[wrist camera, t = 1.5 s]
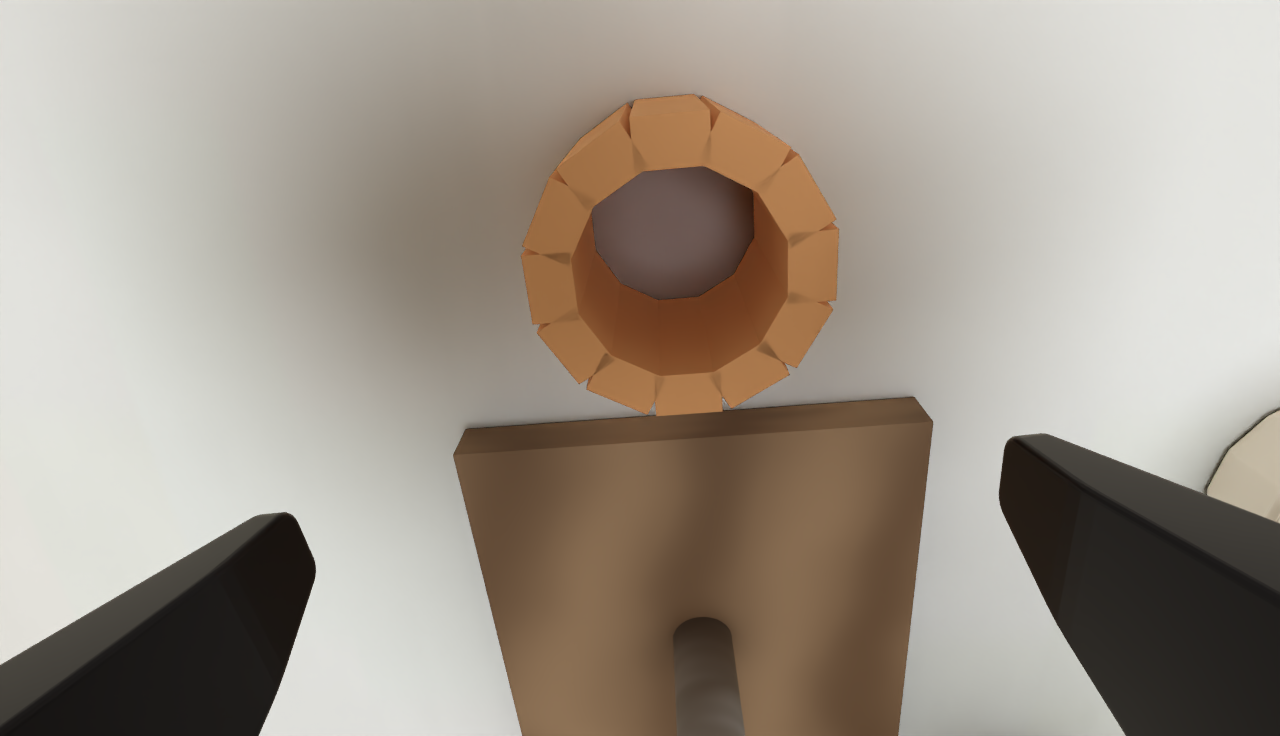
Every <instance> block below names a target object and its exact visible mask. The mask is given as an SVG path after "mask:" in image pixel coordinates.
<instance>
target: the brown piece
mask: <svg viewBox="0 0 1280 736" xmlns="http://www.w3.org/2000/svg"><path fill="white" fill-rule="evenodd" d="M932 428H933V421H932V419H931V418H930V417H929V416H928V414H927V413H926V412H925V410H924V409H923V408H922V406H921V405H920V404H919V402H918V401H917V400H916V399H915V397H911V398H897V399H883V400H869V401H855V402H841V403H827V404H813V405H799V406H785V407H771V408H757V409H743V410H729V411H723V412H709V413H695V414H681V415H667V416H645V417H631V418H617V419H603V420H589V421H575V422H561V423H547V424H533V425H519V426H505V427H491V428H477V429H466V430H465V432H464V434H463V436H462V438H461V440H460V442H459V444H458V446H457V448H456V450H455V452H454V454H453V457H454V461H455V465H456V469H457V473H458V477H459V481H460V485H461V489H462V493H463V497H464V501H465V505H466V510H467V514H468V518H469V522H470V526H471V530H472V534H473V538H474V542H475V546H476V550H477V554H478V558H479V562H480V566H481V570H482V574H483V578H484V582H485V586H486V591H487V595H488V599H489V603H490V607H491V611H492V615H493V619H494V623H495V627H496V631H497V635H498V639H499V643H500V647H501V651H502V655H503V659H504V663H505V667H506V672H507V676H508V680H509V684H510V688H511V692H512V696H513V700H514V704H515V708H516V712H517V716H518V720H519V724H520V728H521V732H522V736H898V732H899V723H900V714H901V705H902V696H903V687H904V678H905V669H906V660H907V651H908V642H909V634H910V625H911V616H912V607H913V598H914V589H915V580H916V571H917V562H918V553H919V544H920V535H921V527H922V518H923V509H924V500H925V491H926V482H927V473H928V464H929V455H930V446H931V437H932Z"/></svg>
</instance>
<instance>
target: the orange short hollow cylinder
mask: <svg viewBox="0 0 1280 736" xmlns="http://www.w3.org/2000/svg"><path fill="white" fill-rule="evenodd" d="M697 166H705V167H707V168H709V169H711V170H713V171H715V172H717V173H719V174H721V175H723V176H725V177H727V178H730V179H732V180H734V181H736V182H738V183H740V184H742V185H744V186H746V187H748V188H750V189H751V190H752V192H753V197H754V238H753V240H752V242H751V244H750V245H749V247H748V249H747V251H746V253H745V255H744V256H743V258H742V260H741V262H740V264H739V266H738V267H737V269H736V271H735V273H734V274H733V275H732V276H730V277H729V278H727V279H725V280H724V281H722V282H721V283H719V284H718V285H716V286H715V287H713V288H712V289H710V290H708V291H707V292H705V293H704V294H702V295H701V296H699V297H689V298H677V299H665V300H657V299H654V298H652V297H650V296H648V295H645V294H643V293H641V292H639V291H636V290H634V289H632V288H630V287H628V286H625V285H623V284H621V283H620V282H619V281H618V279H617V278H616V277H615V275H614V274H613V273H612V271H611V270H610V269H609V267H608V266H607V265H606V263H605V262H604V261H603V259H602V258H601V256H600V255H599V254H598V252H597V251H596V248H595V240H594V231H593V223H592V215H591V211H592V209H593V207H594V206H595V205H597V204H598V203H600V202H601V201H602V200H604V199H605V198H606V197H608V196H609V195H611V194H612V193H613V192H615V191H616V190H618V189H619V188H620V187H622V186H623V185H624V184H626V183H627V182H629V181H630V180H631V179H633V178H634V177H636V176H637V175H638V174H640V173H641V172H642V171H653V170H664V169H675V168H686V167H697ZM835 220H836V218H835V216H834V214H833V212H832V211H831V209H830V207H829V206H828V204H827V202H826V200H825V199H824V197H823V195H822V193H821V192H820V190H819V188H818V187H817V185H816V183H815V181H814V180H813V178H812V176H811V175H810V173H809V171H808V169H807V168H806V166H805V164H804V162H803V161H802V159H801V157H800V156H799V154H797V153H796V152H794V151H793V150H792V149H791V147H790V146H789V145H787V144H786V143H784V142H783V141H781V140H780V139H778V138H777V137H775V136H774V135H772V134H771V133H769V132H768V131H766V130H765V129H764V128H762V127H761V126H759V125H758V124H756V123H755V122H753V121H751V120H749V119H747V118H745V117H743V116H741V115H739V114H737V113H735V112H733V111H731V110H729V109H727V108H725V107H723V106H721V105H720V104H718V103H716V102H714V101H712V100H710V99H708V98H706V97H704V96H702V97H701V99H699V98H698V97H697V96H695V95H694V94H689V95H679V96H668V97H658V98H648V99H637V100H635V101H634V104H633V107H632V109H631V108H630V106H629V105H628V103H626V104H625V105H624V106H622V107H621V108H620V109H618V110H617V111H616V112H614V113H613V114H612V115H610V116H609V117H608V118H607V119H605V120H604V121H603V122H601V123H600V124H599V125H597V126H596V127H595V128H593V129H592V130H591V131H589V132H588V133H587V134H585V135H584V136H583V137H582V138H580V139H579V141H578V142H577V143H576V144H575V146H574V147H573V148H572V149H571V151H570V152H569V153H568V154H567V155H566V157H565V158H564V159H563V160H562V162H561V163H560V164H559V165H558V167H557V168H556V170H555V171H554V172H553V173H552V174H551V176H550V177H549V179H548V182H547V184H546V187H545V189H544V192H543V194H542V197H541V199H540V202H539V204H538V207H537V210H536V212H535V215H534V217H533V220H532V222H531V225H530V227H529V230H528V232H527V235H526V237H525V240H524V243H523V245H522V246H523V247H525V248H526V249H525V251H524V252H523V254H522V255H521V259H522V264H523V270H524V276H525V282H526V288H527V294H528V300H529V306H530V311H531V317H532V323H533V324H540V326H539V328H538V331H537V334H538V335H539V336H540V338H541V339H542V340H543V341H544V342H545V344H546V345H547V346H548V347H549V348H550V350H551V351H552V352H553V353H554V354H555V356H556V357H557V358H558V359H559V361H560V362H561V363H562V364H563V365H564V367H565V368H566V369H567V370H568V371H569V373H570V374H571V375H572V376H573V377H574V379H575V380H576V381H577V382H578V384H580V383H582V382H583V381H585V380H587V379H588V378H589V379H588V384H587V390H589V391H591V392H593V393H596V394H598V395H601V396H603V397H605V398H608V399H610V400H613V401H615V402H618V403H620V404H622V405H625V406H627V407H630V408H632V409H635V410H637V411H639V412H642V413H644V414H647V415H648V413H649V411H650V409H651V407H652V405H653V403H654V402H655V406H656V416H667V415H681V414H695V413H709V412H723V408H722V397H723V398H724V399H725V401H726V402H727V403H728V405H729V406H730V407H731V409H732V408H734V407H735V406H737V405H739V404H741V403H742V402H744V401H746V400H747V399H749V398H751V397H752V396H754V395H756V394H758V393H759V392H761V391H763V390H764V389H766V388H768V387H770V386H771V385H773V384H775V383H776V382H778V381H780V380H781V379H783V378H785V377H787V376H788V375H790V374H789V372H788V369H787V367H786V365H785V363H786V364H788V365H791V366H793V367H795V368H797V367H798V365H799V363H800V362H801V360H802V359H803V357H804V355H805V354H806V352H807V351H808V349H809V348H810V346H811V344H812V343H813V341H814V340H815V338H816V336H817V335H818V333H819V332H820V330H821V328H822V327H823V325H824V324H825V322H826V320H827V319H828V317H829V316H830V314H831V312H832V311H833V309H832V307H831V306H830V304H829V303H828V301H835V300H836V293H837V266H838V239H839V229H838V228H837V227H836V226H835V225H834V224H833V223H832V222H833V221H835Z"/></svg>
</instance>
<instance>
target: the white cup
mask: <svg viewBox="0 0 1280 736" xmlns="http://www.w3.org/2000/svg"><path fill="white" fill-rule="evenodd" d="M1207 495H1208V496H1210V497H1213V498H1216V499H1218V500H1221V501H1223V502H1226V503H1229V504H1231V505H1234V506H1236V507H1239V508H1242V509H1244V510H1247V511H1249V512H1252V513H1255V514H1257V515H1260V516H1262V517H1265V518H1268V519H1270V520H1273V521H1275V522H1278V523H1280V410H1279V411H1277V412H1275V413H1273V414H1271V415H1269V416H1268V417H1266V418H1265V419H1264V420H1263V421H1262V422H1260V423H1259V424H1258V425H1257V426H1256V427H1255V428H1253V429H1252V430H1251V431H1250V432H1249V433H1248V434H1246V435H1245V436H1244V437H1243V438H1242V439H1241V440H1240V441H1238V442H1237V443H1236V444H1235V445H1234V446H1233V447H1231V448H1230V449H1229V450H1228V452H1227V453H1226V455H1225V457H1224V459H1223V461H1222V462H1221V464H1220V466H1219V468H1218V470H1217V472H1216V473H1215V475H1214V477H1213V479H1212V481H1211V483H1210V485H1209V486H1208V488H1207Z"/></svg>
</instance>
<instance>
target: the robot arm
mask: <svg viewBox="0 0 1280 736" xmlns="http://www.w3.org/2000/svg"><path fill="white" fill-rule="evenodd" d="M999 501H1000V506H1001V509H1002V512H1003V514H1004V516H1005V518H1006V521H1007V523H1008V525H1009V527H1010V529H1011V531H1012V533H1013V535H1014V537H1015V539H1016V541H1017V543H1018V546H1019V548H1020V550H1021V552H1022V554H1023V556H1024V558H1025V560H1026V562H1027V564H1028V566H1029V568H1030V571H1031V573H1032V575H1033V577H1034V579H1035V581H1036V583H1037V585H1038V587H1039V589H1040V591H1041V593H1042V595H1043V598H1044V600H1045V602H1046V604H1047V606H1048V608H1049V610H1050V612H1051V613H1052V615H1053V617H1054V619H1055V621H1056V623H1057V625H1058V627H1059V628H1060V630H1061V632H1062V633H1063V635H1064V637H1065V638H1066V640H1067V642H1068V643H1069V645H1070V647H1071V648H1072V650H1073V651H1074V653H1075V655H1076V656H1077V658H1078V659H1079V661H1080V663H1081V664H1082V666H1083V667H1084V669H1085V671H1086V672H1087V674H1088V676H1089V677H1090V679H1091V680H1092V682H1093V684H1094V685H1095V687H1096V688H1097V690H1098V692H1099V693H1100V695H1101V696H1102V698H1103V700H1104V701H1105V703H1106V704H1107V706H1108V708H1109V709H1110V711H1111V712H1112V714H1113V716H1114V717H1115V719H1116V720H1117V722H1118V724H1119V725H1120V727H1121V728H1122V730H1123V732H1124V733H1125V735H1126V736H1280V523H1278V522H1275V521H1273V520H1270V519H1268V518H1265V517H1262V516H1260V515H1257V514H1255V513H1252V512H1249V511H1247V510H1244V509H1242V508H1239V507H1236V506H1234V505H1231V504H1229V503H1226V502H1223V501H1221V500H1218V499H1216V498H1213V497H1210V496H1208V495H1205V494H1203V493H1200V492H1197V491H1195V490H1192V489H1190V488H1187V487H1184V486H1182V485H1179V484H1177V483H1174V482H1171V481H1169V480H1166V479H1163V478H1161V477H1158V476H1156V475H1153V474H1150V473H1148V472H1145V471H1143V470H1140V469H1137V468H1135V467H1132V466H1130V465H1127V464H1124V463H1122V462H1119V461H1117V460H1114V459H1111V458H1109V457H1106V456H1104V455H1101V454H1098V453H1096V452H1093V451H1091V450H1088V449H1085V448H1083V447H1080V446H1078V445H1075V444H1072V443H1070V442H1067V441H1065V440H1062V439H1059V438H1057V437H1054V436H1052V435H1049V434H1042V433H1040V434H1031V435H1022V436H1014V437H1012V438H1010V439H1009V440H1008V441H1007V443H1006V445H1005V449H1004V455H1003V463H1002V471H1001V479H1000V488H999ZM315 574H316V566H315V561H314V558H313V555H312V553H311V551H310V549H309V546H308V544H307V542H306V540H305V537H304V535H303V533H302V531H301V528H300V526H299V524H298V522H297V520H296V518H295V517H294V516H293V515H291V514H289V513H287V512H282V513H272V514H262V515H257V516H255V517H253V518H251V519H249V520H247V521H246V522H244V523H242V524H240V525H239V526H237V527H235V528H234V529H232V530H230V531H229V532H227V533H225V534H223V535H222V536H220V537H218V538H217V539H215V540H213V541H211V542H210V543H208V544H206V545H205V546H203V547H201V548H199V549H198V550H196V551H194V552H193V553H191V554H189V555H187V556H186V557H184V558H182V559H181V560H179V561H177V562H176V563H174V564H172V565H170V566H169V567H167V568H165V569H164V570H162V571H160V572H158V573H157V574H155V575H153V576H152V577H150V578H148V579H146V580H145V581H143V582H141V583H140V584H138V585H136V586H134V587H133V588H131V589H129V590H128V591H126V592H124V593H123V594H121V595H119V596H117V597H116V598H114V599H112V600H111V601H109V602H107V603H105V604H104V605H102V606H100V607H99V608H97V609H95V610H93V611H92V612H90V613H88V614H87V615H85V616H83V617H81V618H80V619H78V620H76V621H75V622H73V623H71V624H70V625H68V626H66V627H64V628H63V629H61V630H59V631H58V632H56V633H54V634H52V635H51V636H49V637H47V638H46V639H44V640H42V641H40V642H39V643H37V644H35V645H34V646H32V647H30V648H28V649H27V650H25V651H23V652H22V653H20V654H18V655H17V656H15V657H13V658H11V659H10V660H8V661H6V662H5V663H3V664H1V665H0V736H259V734H260V731H261V729H262V727H263V724H264V722H265V720H266V718H267V715H268V713H269V711H270V708H271V706H272V704H273V701H274V699H275V696H276V694H277V691H278V689H279V686H280V683H281V680H282V678H283V675H284V672H285V669H286V666H287V663H288V660H289V657H290V654H291V651H292V648H293V645H294V642H295V639H296V636H297V632H298V629H299V626H300V623H301V620H302V617H303V614H304V611H305V608H306V605H307V602H308V599H309V596H310V593H311V590H312V587H313V584H314V580H315Z"/></svg>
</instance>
